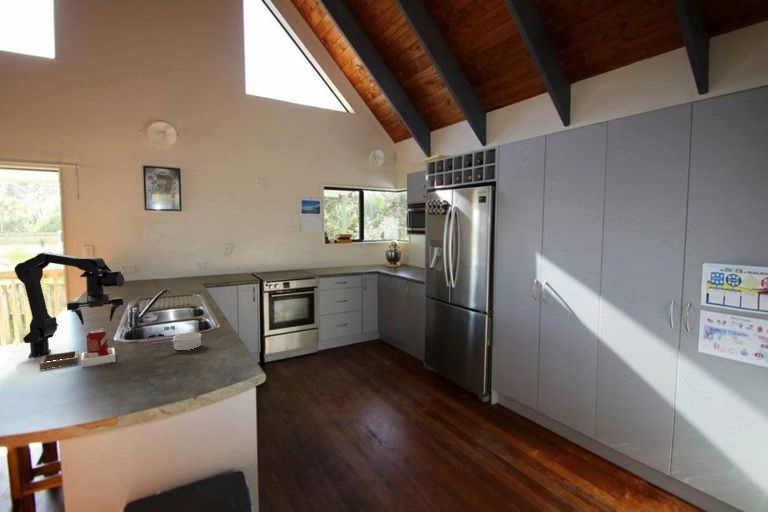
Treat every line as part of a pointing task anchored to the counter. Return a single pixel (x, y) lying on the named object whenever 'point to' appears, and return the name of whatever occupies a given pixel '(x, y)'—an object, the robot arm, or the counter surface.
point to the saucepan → (184, 341)
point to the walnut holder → (57, 357)
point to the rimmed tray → (98, 359)
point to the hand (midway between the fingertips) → (97, 323)
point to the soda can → (97, 343)
